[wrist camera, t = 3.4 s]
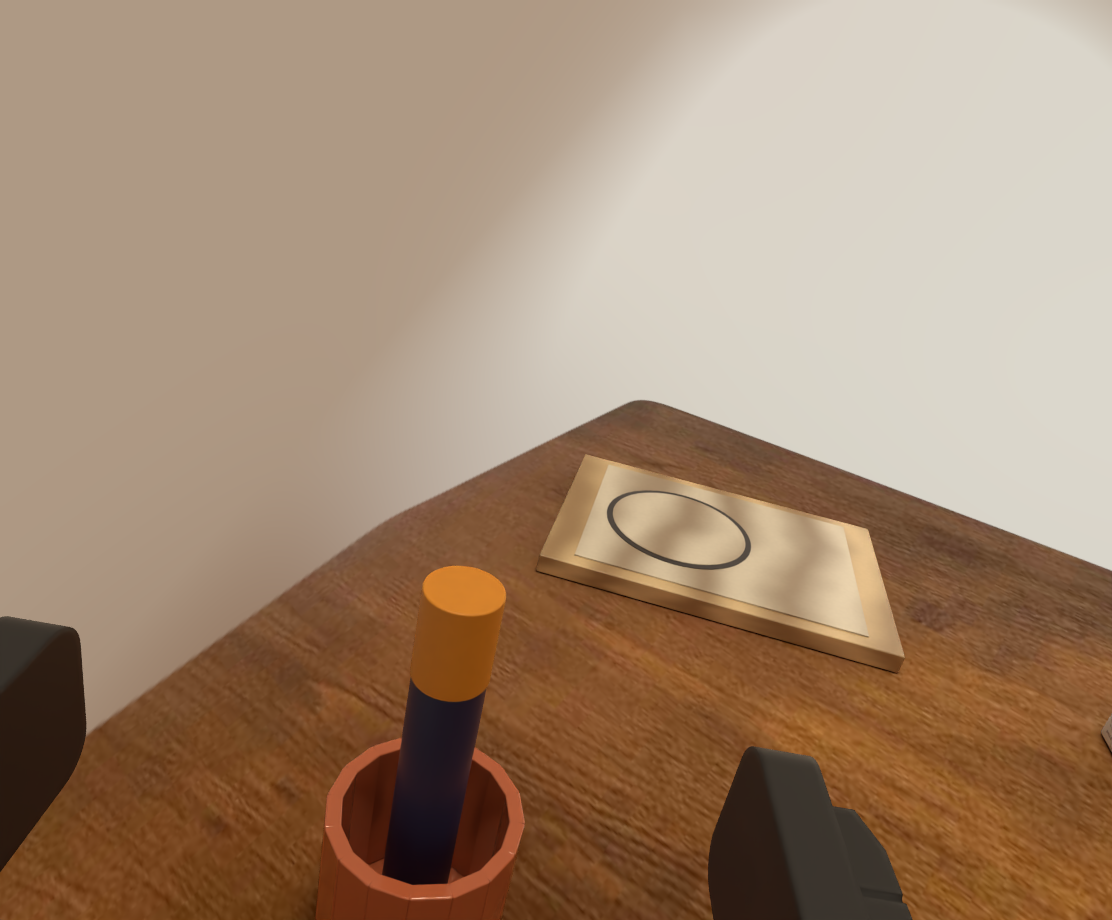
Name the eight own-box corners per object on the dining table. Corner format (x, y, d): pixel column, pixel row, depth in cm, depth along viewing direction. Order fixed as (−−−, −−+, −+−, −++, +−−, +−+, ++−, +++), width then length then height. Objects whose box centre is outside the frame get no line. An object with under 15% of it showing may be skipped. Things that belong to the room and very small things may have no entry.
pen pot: (278, 987, 26) (287, 859, 24) (360, 832, 32) (374, 715, 29) (463, 1052, 25) (493, 928, 23) (513, 882, 31) (542, 767, 28)
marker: (362, 941, 27) (409, 600, 22) (389, 882, 30) (439, 557, 24) (427, 963, 27) (493, 624, 21) (449, 902, 29) (515, 578, 23)
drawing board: (535, 571, 50) (540, 551, 50) (582, 467, 65) (585, 451, 64) (898, 673, 48) (906, 654, 47) (862, 542, 62) (869, 526, 62)
